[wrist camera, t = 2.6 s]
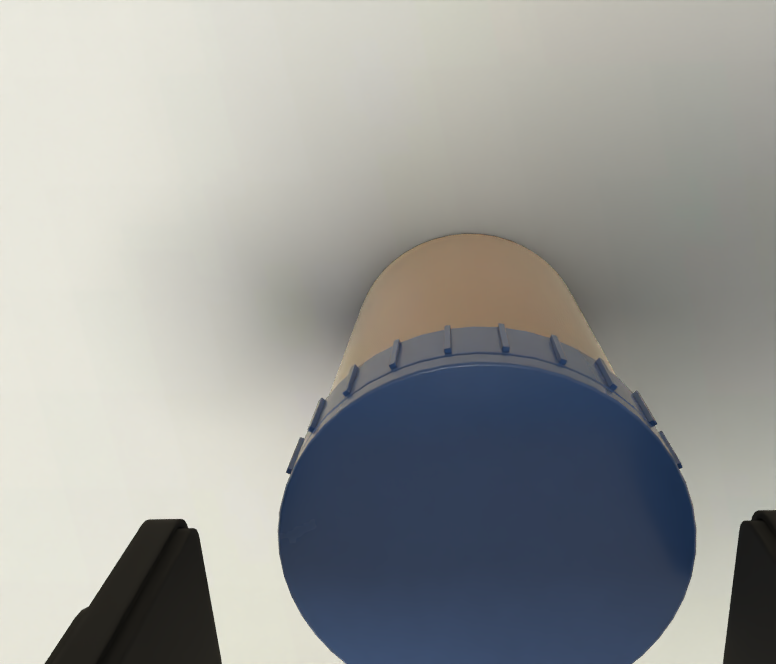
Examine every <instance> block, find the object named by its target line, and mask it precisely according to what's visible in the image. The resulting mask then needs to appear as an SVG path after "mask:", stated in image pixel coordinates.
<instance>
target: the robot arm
mask: <svg viewBox="0 0 776 664" xmlns="http://www.w3.org/2000/svg"><path fill="white" fill-rule="evenodd" d="M45 664H222V662H221V655H220V650H219V644H218V639H217V633H216V628H215V622H214V617H213V611H212V605H211V600H210V594H209V589H208V583H207V578H206V572H205V566H204V561H203V555H202V550H201V544H200V539H199V534H198V532H197V530H196V529H195V528H188V526H187V524H186V522H185V521H184V520H183V519H152V520H146V521H145V522H144V523H143V524H142V525H141V527H140V528H139V530H138V532H137V533H136V535H135V536H134V538H133V539H132V541H131V542H130V544H129V545H128V547H127V549H126V550H125V552H124V553H123V555H122V556H121V558H120V559H119V561H118V562H117V564H116V565H115V567H114V569H113V570H112V572H111V573H110V575H109V576H108V578H107V579H106V581H105V582H104V584H103V585H102V587H101V589H100V590H99V592H98V593H97V595H96V596H95V598H94V599H93V601H92V602H91V604H90V606H89V607H87V608H85V609H83V610H81V612H80V613H79V614H78V615H77V616H76V617H75V619H74V620H73V622H72V623H71V625H70V626H69V628H68V629H67V631H66V632H65V634H64V635H63V637H62V638H61V640H60V641H59V643H58V644H57V646H56V647H55V649H54V650H53V652H52V653H51V655H50V656H49V658H48V660H47V661H46V663H45ZM723 664H776V510H758V511H756V512H755V513H754V515H753V516H752V520H751V521H743V522H742V524H741V526H740V530H739V538H738V546H737V554H736V562H735V570H734V579H733V587H732V595H731V603H730V611H729V619H728V627H727V635H726V643H725V651H724V659H723Z"/></svg>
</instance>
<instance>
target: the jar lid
mask: <svg viewBox="0 0 776 664" xmlns="http://www.w3.org/2000/svg"><path fill="white" fill-rule="evenodd" d="M656 424H657V422H656V421H655V419H654V417H653V415H652V414H651V412H650V410H649V409H648V407H647V405H646V404H645V402H644V400H643V399H642V397H641V395H640V394H639V393H638V391H635V392H634V393H632V392H631V391H630V390H629V389H628V388H627V386H626V385H625V384H624V383H623V382H622V381H621V380H620V379H619V378H618V377H617V376H616V375H614V374H613V373H612V372H611V371H609V369H608V368H607V366H606V364H605V362H604V360H602V359H601V358H598V359H597V360H594V359H593V358H591V357H589V356H588V355H586V354H584V353H583V352H581V351H579V350H578V349H576V348H573V347H571V346H569V345H566V344H564V343H562V342H559V339H558V337H557V336H556V335H553V334H552V335H551V337H550V338H549V337H545V336H542V335H538V334H535V333H531V332H528V331H522V330H515V329H509V328H505V324H501V323H498V327H476V326H474V327H463V328H452V329H451V326H450V325H446V326H444V330H441V331H436V332H432V333H427V334H422V335H420V336H417V337H414V338H411V339H408V340H406V341H403V342H400V340H399V339H397V340H395V341H394V342H393V346H392V347H390V348H388V349H386V350H384V351H382V352H380V353H378V354H376V355H374V356H373V357H371V358H370V359H369V360H367V361H366V362H364V363H363V364H361V365H360V366H358V367H357V365H356V364H354V365H353V366H352V367H351V368H350V371H349V374H348V376H347V377H346V378H344V379H343V380H342V381H341V382H340V383H339V384H338V385H337V386H336V387H335V389H334V390H333V391H332V392H331V393H330V395H329V396H328V397H327V398H326V399H325V400H324V399H323V398H321V399H320V400H319V402H318V404H317V407H316V409H315V412H314V414H313V417H312V420H311V422H310V425H309V427H308V431H307V434H306V436H305V438H301V437H300V439H299V441H298V444H297V446H296V449H295V451H294V454H293V456H292V458H291V461H290V463H289V466H288V468H287V471H286V473H288V474H290V477H289V479H288V482H287V484H286V487H285V491H284V495H283V499H282V503H281V506H280V512H279V524H278V542H279V555H280V560H281V564H282V569H283V574H284V577H285V580H286V583H287V585H288V588H289V591H290V593H291V596H292V598H293V600H294V602H295V604H296V606H297V607H298V609H299V611H300V613H301V615H302V617H303V618H304V619H305V621H306V622H307V624H308V625H309V626H310V628H311V629H312V630H313V632H314V633H315V635H316V636H317V637H318V638H319V639H320V640H321V641H322V642H323V643H324V644H325V645H326V646H327V647H328V648H329V650H330V651H331V652H333V653H334V654H335V655H336V656H337V657H339V658H340V659H341V660H342V661H343V662H345V663H346V664H632V663H634V662H635V661H636V660H637V659H639V658H640V657H641V656H642V655H643V654H644V653H645V652H646V651H647V650H648V649H649V648H650V647H651V646H652V645H653V644H654V643H655V642H656V641H657V640H658V639H659V638H660V636H661V635H662V634H663V632H664V631H665V629H666V628H667V627H668V625H669V624H670V622H671V621H672V620H673V618H674V616H675V614H676V612H677V611H678V609H679V607H680V605H681V603H682V601H683V599H684V597H685V594H686V591H687V588H688V585H689V582H690V579H691V577H692V571H693V566H694V560H695V555H696V523H695V516H694V509H693V504H692V501H691V498H690V494H689V491H688V488H687V485H686V482H685V480H684V478H683V476H682V474H681V472H680V470H679V469H680V468H682V465H681V462H680V461H679V459H678V457H677V456H676V454H675V452H674V451H673V449H672V447H671V445H670V444H669V442H668V440H667V439H666V437H665V435H664V434H663V432H662V431H660V432H658V431H657V429H656V427H655V425H656Z"/></svg>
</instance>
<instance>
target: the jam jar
mask: <svg viewBox="0 0 776 664" xmlns="http://www.w3.org/2000/svg"><path fill="white" fill-rule="evenodd" d="M498 323H501V324H505V328H509V329H515V330H522V331H528V332H531V333H535V334H538V335H542V336H545V337H549V338H550V337H551V335H552V334H553V335H556V336H557V337H558V339H559V342H562V343H564V344H566V345H569V346H571V347H573V348H576V349H578V350H579V351H581V352H583V353H584V354H586V355H588V356H589V357H591V358H593V359H594V360H597V359H598V358H601V359H602V360H604V362H605V364H606V366H607V368H608V369H609V371H611V372H612V373H613V374H614V375H616V374H615V372H614V370H613V368H612V367H611V365H610V363H609V361H608V359H607V357H606V356H605V354H604V352H603V350H602V348H601V347H600V345H599V343H598V341H597V339H596V338H595V336H594V334H593V332H592V330H591V329H590V327H589V325H588V323H587V321H586V319H585V318H584V316H583V314H582V312H581V310H580V309H579V307H578V305H577V303H576V301H575V300H574V298H573V296H572V294H571V292H570V290H569V289H568V287H567V285H566V284H565V283H564V281H563V280H562V278H561V277H560V275H559V274H558V273H557V272H556V271H555V270H554V269H553V268H552V267H551V266H550V265H549V264H548V263H547V262H546V261H545V260H543V259H542V258H541V257H540V256H538V255H537V254H535V253H534V252H532V251H530V250H529V249H527V248H525V247H524V246H521V245H519V244H517V243H514V242H512V241H510V240H506V239H503V238H499V237H496V236H489V235H483V234H458V235H449V236H445V237H441V238H436V239H433V240H430V241H428V242H425V243H422V244H420V245H418V246H416V247H414V248H412V249H410V250H409V251H407V252H405V253H404V254H402V255H401V256H400V257H398V258H397V259H396V260H394V261H393V262H392V263H391V264H390V265H389V266H388V267H387V268H386V269H385V270H384V271H383V272H382V273H381V274H380V276H379V277H378V278H377V279H376V280H375V282H374V283H373V285H372V287H371V288H370V290H369V292H368V293H367V295H366V298H365V300H364V302H363V305H362V307H361V310H360V312H359V315H358V318H357V320H356V323H355V326H354V329H353V331H352V334H351V337H350V340H349V342H348V345H347V348H346V350H345V353H344V356H343V359H342V361H341V364H340V367H339V369H338V372H337V375H336V378H335V380H334V383H333V386H332V388H331V391H330V393H331V392H332V391H333V390H334V389H335V387H336V386H337V385H338V384H339V383H340V382H341V381H342V380H343V379H344V378H346V377H347V376H348V374H349V371H350V368H351V367H352V366H353V365H354V364H356V365H357V367H358V366H360V365H361V364H363V363H364V362H366V361H367V360H369V359H370V358H371V357H373V356H374V355H376V354H378V353H380V352H382V351H384V350H386V349H388V348H390V347H392V346H393V342H394V341H395V340H397V339H399V340H400V342H403V341H406V340H408V339H411V338H414V337H417V336H420V335H422V334H427V333H432V332H436V331H441V330H444V326H446V325H450V326H451V329H452V328H463V327H474V326H476V327H498ZM329 395H330V394H329Z"/></svg>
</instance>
